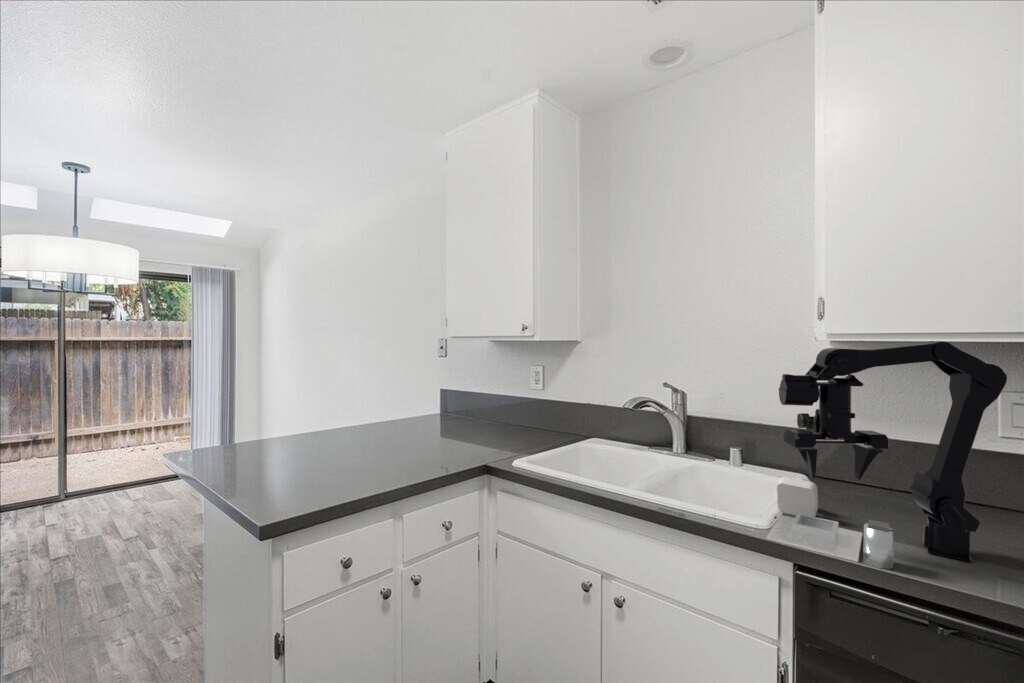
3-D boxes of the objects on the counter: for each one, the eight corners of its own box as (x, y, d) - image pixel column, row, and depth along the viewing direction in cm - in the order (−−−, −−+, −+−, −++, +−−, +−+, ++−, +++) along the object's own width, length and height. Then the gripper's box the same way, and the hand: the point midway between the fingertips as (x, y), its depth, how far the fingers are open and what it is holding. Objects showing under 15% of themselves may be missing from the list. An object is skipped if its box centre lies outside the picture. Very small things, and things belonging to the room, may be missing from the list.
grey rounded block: (823, 506, 121) (822, 470, 119) (815, 527, 114) (814, 489, 112) (787, 498, 127) (786, 464, 125) (778, 518, 119) (776, 482, 117)
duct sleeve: (893, 562, 92) (893, 523, 92) (893, 571, 89) (893, 530, 89) (863, 555, 95) (864, 517, 95) (862, 563, 92) (863, 524, 91)
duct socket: (862, 535, 105) (862, 521, 105) (858, 562, 92) (858, 545, 92) (780, 517, 115) (780, 504, 115) (766, 539, 102) (767, 524, 102)
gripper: (857, 401, 109) (857, 469, 109) (772, 401, 111) (772, 467, 111) (891, 409, 98) (891, 484, 98) (796, 408, 100) (796, 482, 100)
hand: (834, 478), depth 102 cm, fingers open, 9 cm apart
